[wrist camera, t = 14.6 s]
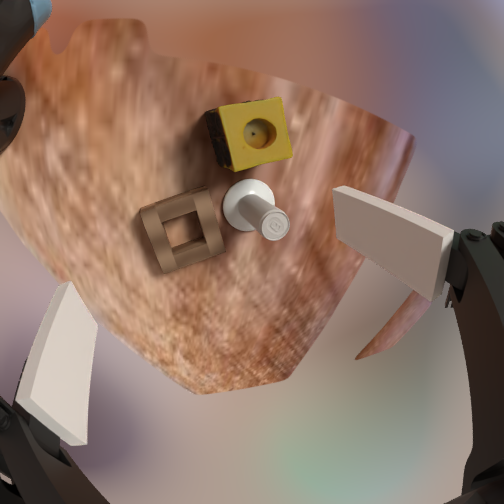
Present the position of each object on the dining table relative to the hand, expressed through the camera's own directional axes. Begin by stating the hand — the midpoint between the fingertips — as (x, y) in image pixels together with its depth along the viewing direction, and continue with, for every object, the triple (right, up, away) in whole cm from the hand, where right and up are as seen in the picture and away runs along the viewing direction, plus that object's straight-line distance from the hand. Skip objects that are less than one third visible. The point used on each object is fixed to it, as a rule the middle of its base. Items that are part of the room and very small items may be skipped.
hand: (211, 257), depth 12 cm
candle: (-1, +21, +33) cm, 39 cm away
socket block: (-11, +5, +36) cm, 38 cm away
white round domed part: (+1, +9, +39) cm, 40 cm away
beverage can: (+1, +9, +39) cm, 40 cm away
